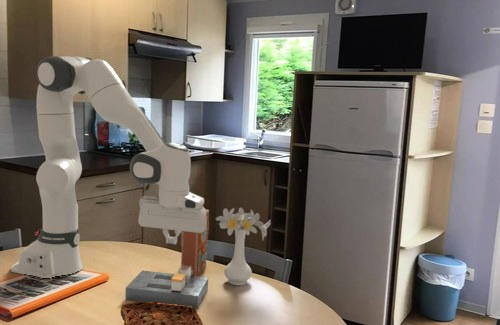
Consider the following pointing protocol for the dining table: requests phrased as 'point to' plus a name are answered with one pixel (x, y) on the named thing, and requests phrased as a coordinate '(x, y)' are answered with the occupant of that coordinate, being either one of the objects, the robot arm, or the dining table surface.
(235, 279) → the flower vase
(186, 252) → the orange retro radio
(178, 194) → the robot arm
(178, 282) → the block
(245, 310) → the dining table surface
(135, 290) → the box
